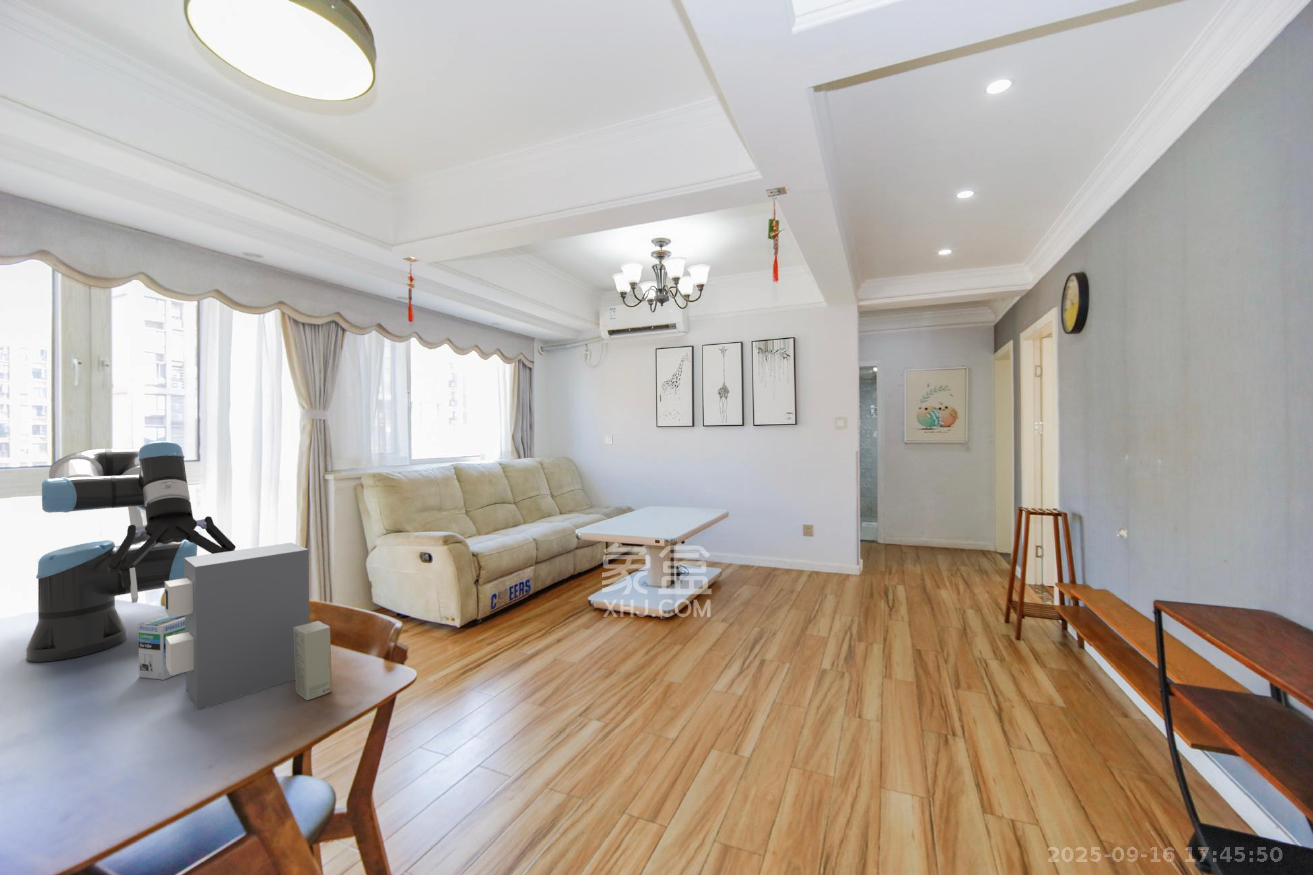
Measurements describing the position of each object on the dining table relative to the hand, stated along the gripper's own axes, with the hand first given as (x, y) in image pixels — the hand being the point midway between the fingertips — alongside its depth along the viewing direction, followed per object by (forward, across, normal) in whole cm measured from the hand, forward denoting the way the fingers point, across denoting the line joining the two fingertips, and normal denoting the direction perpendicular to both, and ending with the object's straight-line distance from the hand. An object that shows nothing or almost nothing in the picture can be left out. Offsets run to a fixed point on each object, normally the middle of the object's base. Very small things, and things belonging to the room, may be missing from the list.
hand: (180, 591), depth 110 cm
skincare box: (+33, +13, -23) cm, 42 cm away
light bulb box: (+14, -1, +6) cm, 16 cm away
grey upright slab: (+25, +7, -11) cm, 29 cm away
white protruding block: (+12, -2, -20) cm, 23 cm away
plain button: (+20, -2, -15) cm, 25 cm away
